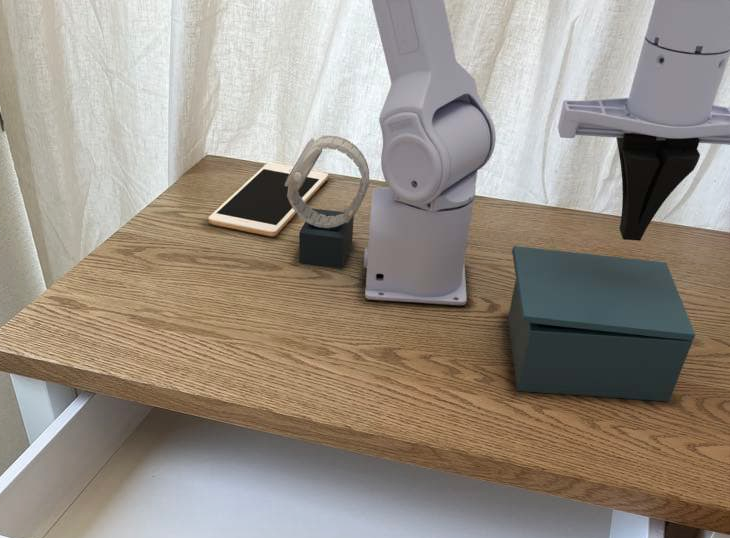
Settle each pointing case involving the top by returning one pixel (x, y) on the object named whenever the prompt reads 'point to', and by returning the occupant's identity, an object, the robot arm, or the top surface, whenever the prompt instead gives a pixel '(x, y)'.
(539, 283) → the lid
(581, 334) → the chest
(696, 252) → the top surface
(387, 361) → the top surface
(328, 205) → the top surface
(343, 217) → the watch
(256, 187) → the cell phone
